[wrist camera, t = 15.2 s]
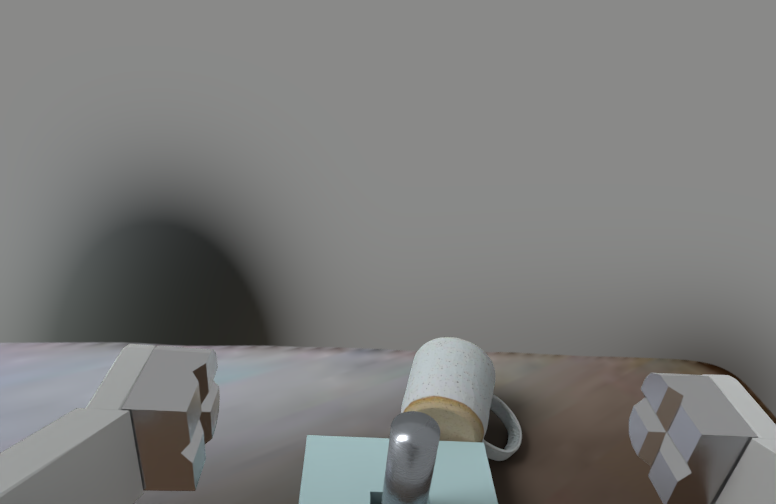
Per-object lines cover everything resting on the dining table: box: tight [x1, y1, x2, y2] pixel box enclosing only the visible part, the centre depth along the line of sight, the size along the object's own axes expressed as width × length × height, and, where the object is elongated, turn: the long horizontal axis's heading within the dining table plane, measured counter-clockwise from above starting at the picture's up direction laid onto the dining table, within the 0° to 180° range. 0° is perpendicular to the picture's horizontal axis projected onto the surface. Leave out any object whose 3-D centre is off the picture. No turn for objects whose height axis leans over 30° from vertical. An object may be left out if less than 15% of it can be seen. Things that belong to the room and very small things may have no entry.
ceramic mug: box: [401, 337, 522, 461], centre depth 47 cm, size 11×8×8 cm
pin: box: [381, 411, 441, 504], centre depth 36 cm, size 3×3×12 cm
